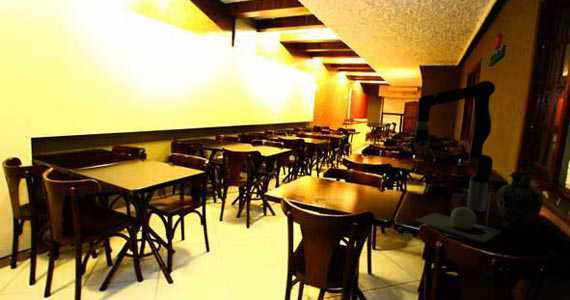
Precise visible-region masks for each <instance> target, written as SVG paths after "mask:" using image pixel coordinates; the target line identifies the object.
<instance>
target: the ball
mask: <svg viewBox="0 0 570 300" xmlns="http://www.w3.org/2000/svg"><path fill="white" fill-rule="evenodd" d="M450 217H451V222H452V223H453V225H454V226H455V227H454V228H456V229H457V230H458V229H459V230H460V231H462V230H463V231H467V230H470V229H472V227H474V225H475V224H477V216H476V214H475V211H473V210H471V209H469V208H467V206H466V207H458V208H456V209H454V210H453V211H452V213H451V212H450Z"/></svg>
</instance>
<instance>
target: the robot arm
mask: <svg viewBox="0 0 570 300" xmlns="http://www.w3.org/2000/svg"><path fill="white" fill-rule="evenodd" d="M495 91H496V85H495V83H493V82H492V81H490V80H482V81H479V82H477V83H476V84H474V85H470V86H466V87H463V88H457V89H450V90H446V91H441V92H437V93H433V94H429V95H422V96H421V97H420V98H419V99H418V101H417V103H418V108H417V109H418V110H417V111H418V112H417V116H416V123H415V131H414V137H410V138H409V141H408V148H409V149H411V152H410V153H411V155H412V156H415V155H416V149H417V147H419V146H423V147H424V148H425V149H424V156H428V155H429V152H430V149H433V138H428V137H429V133H430V132H429V131H430V116H431V115H430V113H431V110H432V109H431V108H432V107H434V106H437V105H438V106H439V105H443V104H449V103H453V102H458V101H461V100H466V99H470V98H471V99H472V98H473V101H474V106H473V107H474V108H473V109H474V110H473V117H472V127H471V128H472V131H471V132H472V133H471V143H470V144H471V145H470V151H469V157H468V164H469V166H470V167H471V169H475V170H476V173H475V174H472V175H470V177H469V184H468V193H467V200H466V208H469V209H471V210H472V211H473V212H479V213H480V212H481V213H482V212H485V211H487V209H488V200H489V194H487V193H488V186H489V185H488V184H489V180H490V178H491V174H492V170H493V163H494V162H493V158H492V157H491V156H490V155H487V154H484V153H483V147H484V144H485V142H486V141H487V139H488V138H489V136H490V135H491V131H492V116H491V111H490V99H491V96H492V95H493V94H494V93H495Z"/></svg>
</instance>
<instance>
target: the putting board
mask: <svg viewBox="0 0 570 300" xmlns="http://www.w3.org/2000/svg"><path fill="white" fill-rule="evenodd" d="M502 196H503V194H498V192H493V191H489V193H488V200H487V208H486V211H487V212H486V217H485V218H486V220H485V226H484V225H482V224H477V223H476V224H475V225H474V227H472V228H473V229H475V230H479V231H482V232H484V233H483V234H472V233H468V232H465V231H462V230H460V229H459V230H458V229H457V228H456V227H455V226H454V225H453V223H452V222H451V216H449V215H445V214H442V213H438V212H434V213H430V214H428V215H425V216H423V217H420V218H417V219H415V220H414V223H416V224H420V225H422V223H426V224H429V225H430V226H432V227H433V228H432V227H431V228H432V229H436V230H439V231H441V230H442V231H441V232H446V233H448V234H452V235H454V234H456V235H455V236H457V235H459V236H458V237H461V236H463V237H462V238H464V237H466V238H465V239H467V238H471V239H475V240H478V241H481V242H486V243H487V241H488V242H489V241H491V240H492V239H494V238H495V237H497V236H498V235H501V233H502V230H499V229H496V228H492V227H488V225H489V222H488V221H489V218H490V217H489V215H490V209H491V200H495V201H496V200H499V201H502ZM472 228H471V229H472Z"/></svg>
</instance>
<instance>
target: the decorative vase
mask: <svg viewBox="0 0 570 300" xmlns="http://www.w3.org/2000/svg"><path fill="white" fill-rule="evenodd" d="M509 177H511V179H512V180H511V183H510V184H505V185H502V186H501V187H499V188H498V191H497V193H498V194H503V196H502V201H499V200H495V201H496V208H497V210H498V213H499V215H500V217H501V218H502V219H503V220H504V221H505V222H502V226H503V227H504V228H505V229H508V230H511V231H512V230H513V231H516V232H528V231H529V228H528V227H527V226H531V225H535V223H536V221H537V219H538V216H539V214H540V213H541V210H542V209H543V204H544V203H543V202H544V201H543V196H542V194H541V192H540V191H538V189H536V188H534V187H532V186H531V183H530V182H531V180H534V176H532V174H531V173H528V172H522V171H517V172H516V171H513V172H511V173H510V174H509Z"/></svg>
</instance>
